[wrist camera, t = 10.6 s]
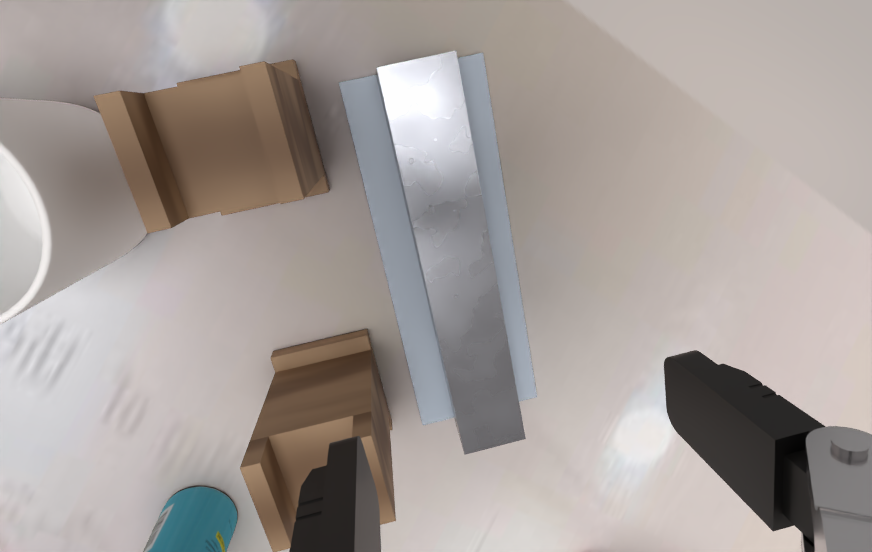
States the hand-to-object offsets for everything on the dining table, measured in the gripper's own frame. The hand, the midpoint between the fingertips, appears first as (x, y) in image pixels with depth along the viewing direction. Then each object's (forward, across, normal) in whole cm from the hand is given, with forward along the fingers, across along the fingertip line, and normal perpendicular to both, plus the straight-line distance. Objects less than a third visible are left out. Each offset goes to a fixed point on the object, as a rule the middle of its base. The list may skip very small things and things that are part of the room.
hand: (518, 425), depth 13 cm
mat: (+19, -1, +1) cm, 19 cm away
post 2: (+19, +8, +8) cm, 22 cm away
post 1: (+19, +8, -8) cm, 22 cm away
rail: (+19, -1, +1) cm, 19 cm away
